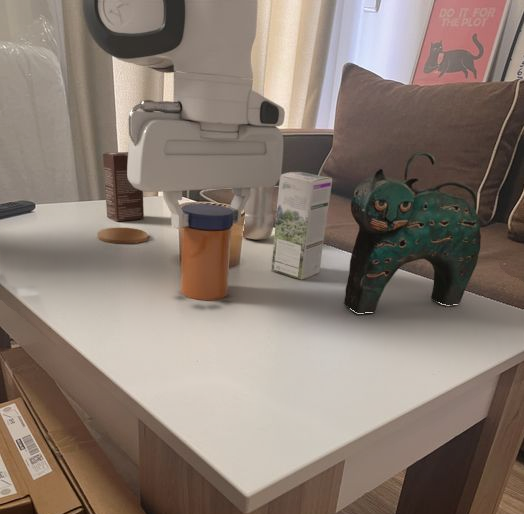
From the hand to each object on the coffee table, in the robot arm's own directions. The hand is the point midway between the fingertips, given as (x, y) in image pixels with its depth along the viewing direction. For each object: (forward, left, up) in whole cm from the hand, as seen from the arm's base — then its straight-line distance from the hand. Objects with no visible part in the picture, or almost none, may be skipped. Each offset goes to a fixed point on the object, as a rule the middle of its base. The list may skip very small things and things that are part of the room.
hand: (207, 224), depth 66 cm
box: (+1, +41, -9) cm, 42 cm away
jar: (0, 0, -9) cm, 9 cm away
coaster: (-3, +28, -9) cm, 30 cm away
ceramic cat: (+24, -12, -9) cm, 28 cm away
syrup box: (+17, +4, -9) cm, 20 cm away
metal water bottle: (+20, +23, -9) cm, 32 cm away
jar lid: (0, 0, +2) cm, 2 cm away
